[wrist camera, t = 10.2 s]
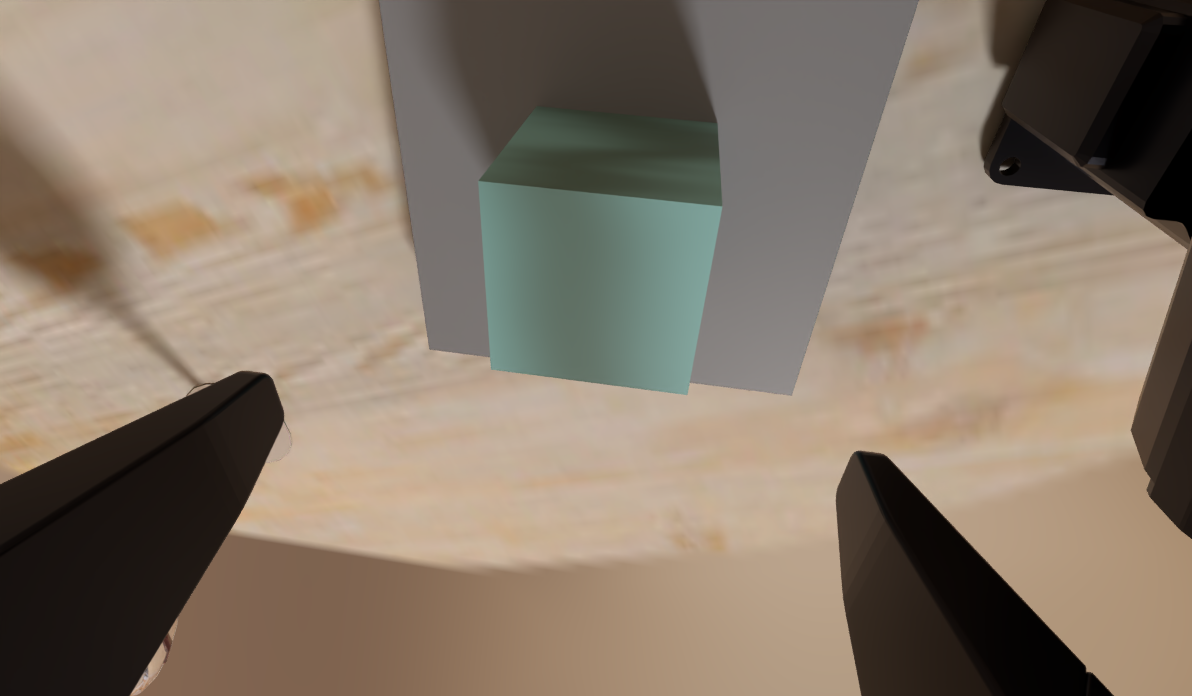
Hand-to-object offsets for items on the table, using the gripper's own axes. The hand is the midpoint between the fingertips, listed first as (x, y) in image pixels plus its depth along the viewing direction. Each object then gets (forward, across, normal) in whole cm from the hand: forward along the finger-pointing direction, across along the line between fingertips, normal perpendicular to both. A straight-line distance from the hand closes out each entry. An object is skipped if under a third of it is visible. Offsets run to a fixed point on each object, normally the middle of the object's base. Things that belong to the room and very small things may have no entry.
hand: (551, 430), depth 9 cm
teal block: (+9, 0, 0) cm, 9 cm away
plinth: (+11, 0, 0) cm, 11 cm away
